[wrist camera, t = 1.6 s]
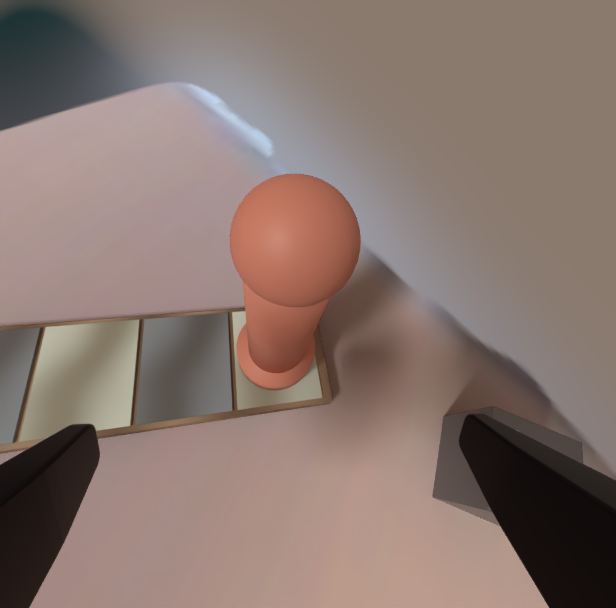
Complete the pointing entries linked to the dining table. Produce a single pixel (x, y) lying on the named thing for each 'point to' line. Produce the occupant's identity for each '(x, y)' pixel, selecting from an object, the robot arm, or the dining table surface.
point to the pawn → (289, 272)
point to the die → (457, 474)
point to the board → (135, 376)
